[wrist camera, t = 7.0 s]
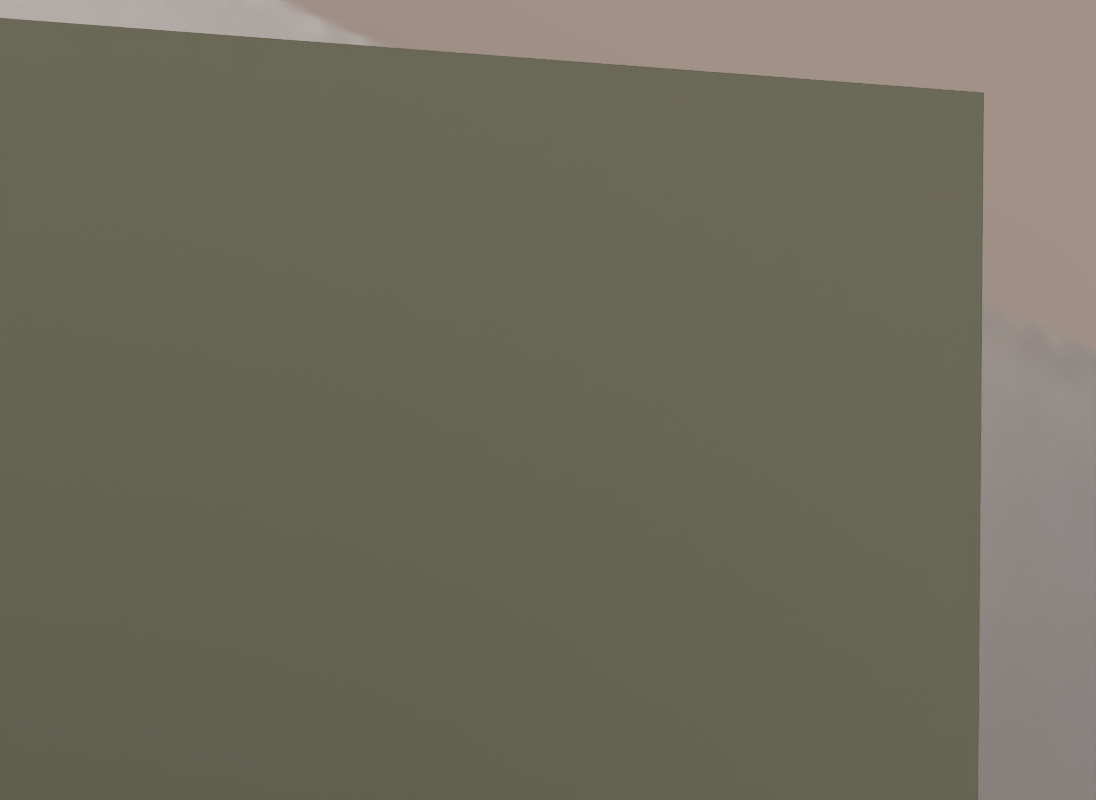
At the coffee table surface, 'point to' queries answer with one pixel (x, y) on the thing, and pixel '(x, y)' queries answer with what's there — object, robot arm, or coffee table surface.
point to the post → (482, 427)
